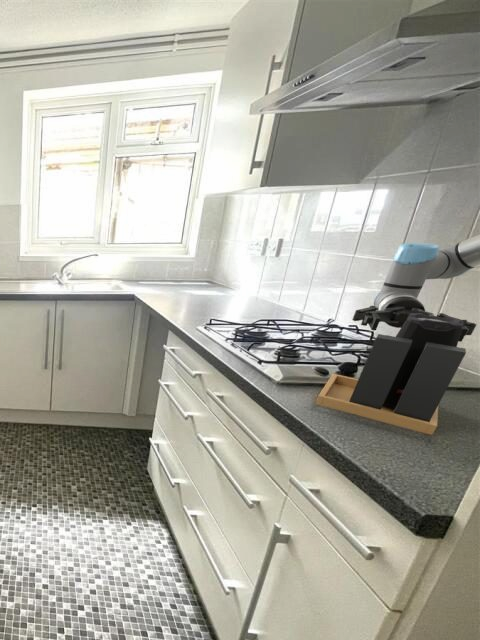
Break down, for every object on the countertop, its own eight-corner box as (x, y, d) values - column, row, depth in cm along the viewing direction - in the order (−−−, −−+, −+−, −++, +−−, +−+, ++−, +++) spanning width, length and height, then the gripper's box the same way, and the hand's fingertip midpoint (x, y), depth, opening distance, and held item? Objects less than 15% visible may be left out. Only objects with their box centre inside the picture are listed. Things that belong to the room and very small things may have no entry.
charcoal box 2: (425, 424, 83) (465, 348, 76) (425, 429, 81) (466, 352, 74) (391, 415, 86) (427, 342, 80) (390, 420, 84) (426, 345, 78)
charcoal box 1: (378, 412, 87) (412, 339, 81) (377, 417, 85) (411, 343, 79) (348, 404, 91) (378, 333, 84) (345, 408, 89) (376, 337, 82)
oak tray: (432, 408, 91) (438, 397, 90) (430, 438, 79) (437, 426, 78) (328, 383, 103) (333, 373, 101) (314, 406, 91) (318, 395, 90)
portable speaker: (406, 418, 85) (452, 325, 77) (356, 398, 93) (393, 313, 85) (434, 412, 87) (482, 322, 79) (383, 394, 95) (421, 310, 87)
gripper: (463, 333, 102) (492, 357, 86) (333, 317, 115) (338, 335, 99) (479, 302, 98) (512, 322, 83) (343, 289, 112) (349, 304, 96)
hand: (417, 329), depth 91 cm, fingers open, 13 cm apart
